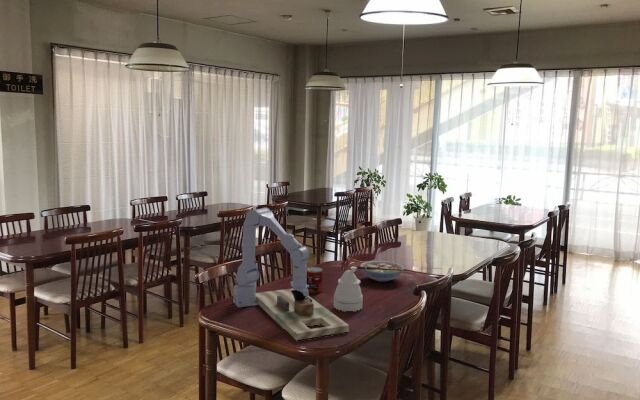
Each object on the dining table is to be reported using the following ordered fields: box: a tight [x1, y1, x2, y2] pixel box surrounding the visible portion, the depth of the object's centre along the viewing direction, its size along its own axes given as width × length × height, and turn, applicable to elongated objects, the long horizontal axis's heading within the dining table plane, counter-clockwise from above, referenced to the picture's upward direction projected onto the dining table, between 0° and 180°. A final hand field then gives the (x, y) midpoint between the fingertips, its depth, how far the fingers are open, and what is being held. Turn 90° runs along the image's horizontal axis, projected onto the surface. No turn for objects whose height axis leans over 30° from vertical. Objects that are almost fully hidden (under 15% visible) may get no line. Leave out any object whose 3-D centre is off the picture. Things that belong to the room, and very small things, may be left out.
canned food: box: [306, 266, 323, 294], centre depth 249 cm, size 8×8×11 cm
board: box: [256, 287, 350, 342], centre depth 218 cm, size 22×50×6 cm, turn 26°
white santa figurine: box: [333, 266, 364, 312], centre depth 229 cm, size 13×13×18 cm
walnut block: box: [294, 299, 314, 317], centre depth 212 cm, size 6×6×4 cm
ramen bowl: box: [357, 260, 408, 283], centre depth 271 cm, size 25×23×8 cm
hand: (299, 307), depth 216 cm, fingers closed
